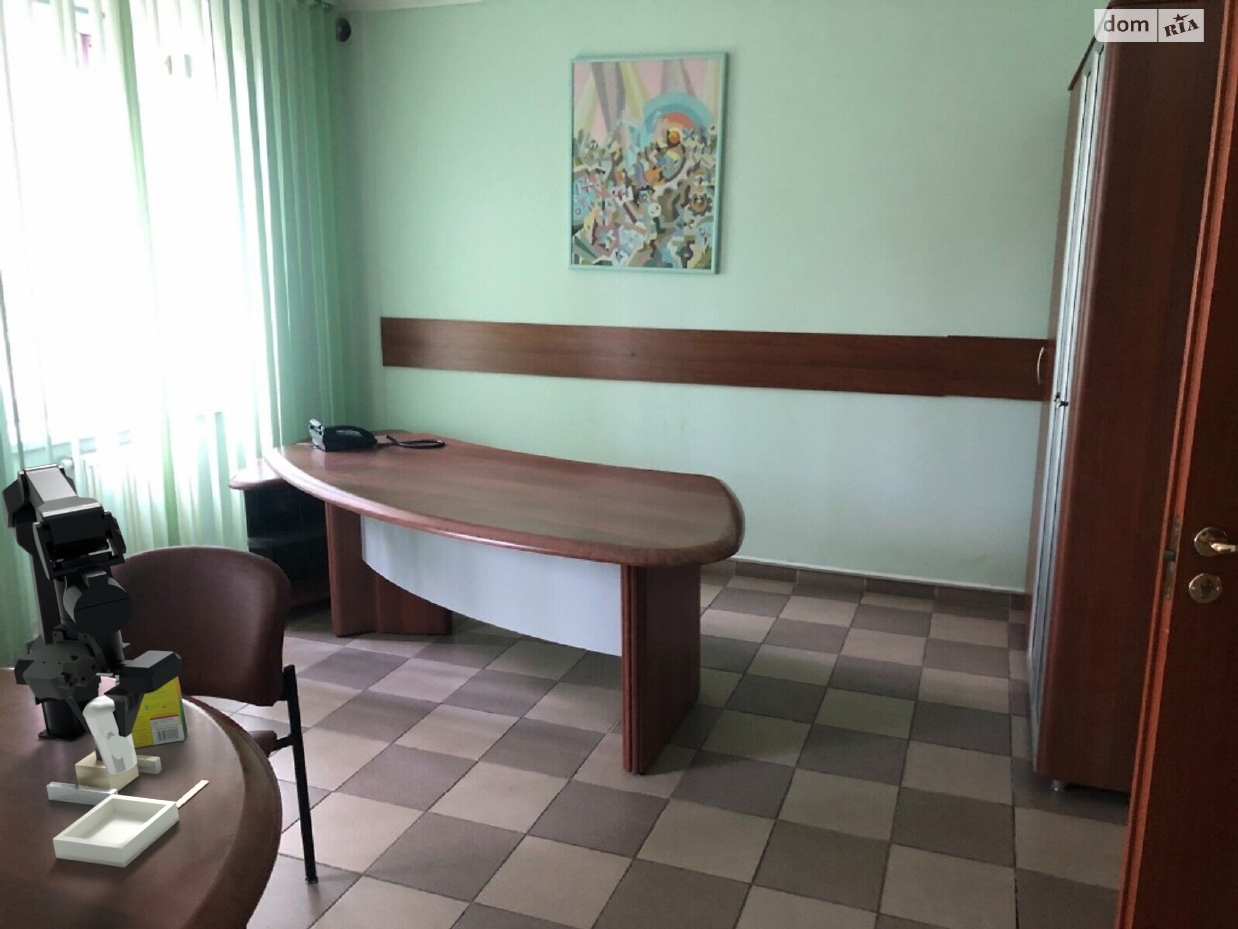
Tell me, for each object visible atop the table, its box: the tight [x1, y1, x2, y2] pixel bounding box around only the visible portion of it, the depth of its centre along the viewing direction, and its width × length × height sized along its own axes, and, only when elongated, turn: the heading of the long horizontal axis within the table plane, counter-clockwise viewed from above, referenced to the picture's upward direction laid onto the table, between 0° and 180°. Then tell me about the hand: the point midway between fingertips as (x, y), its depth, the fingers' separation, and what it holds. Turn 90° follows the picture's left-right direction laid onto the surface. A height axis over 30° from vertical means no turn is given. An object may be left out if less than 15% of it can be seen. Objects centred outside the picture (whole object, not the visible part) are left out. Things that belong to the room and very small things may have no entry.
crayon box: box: [131, 676, 188, 749], centre depth 139 cm, size 7×3×12 cm, turn 105°
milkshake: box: [83, 695, 137, 774], centre depth 115 cm, size 4×5×10 cm
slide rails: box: [46, 754, 210, 809], centre depth 128 cm, size 18×9×2 cm, turn 76°
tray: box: [52, 794, 180, 868], centre depth 117 cm, size 10×10×2 cm
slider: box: [74, 745, 140, 792], centre depth 129 cm, size 5×5×6 cm
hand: (110, 734), depth 116 cm, fingers closed on milkshake, 4 cm apart
